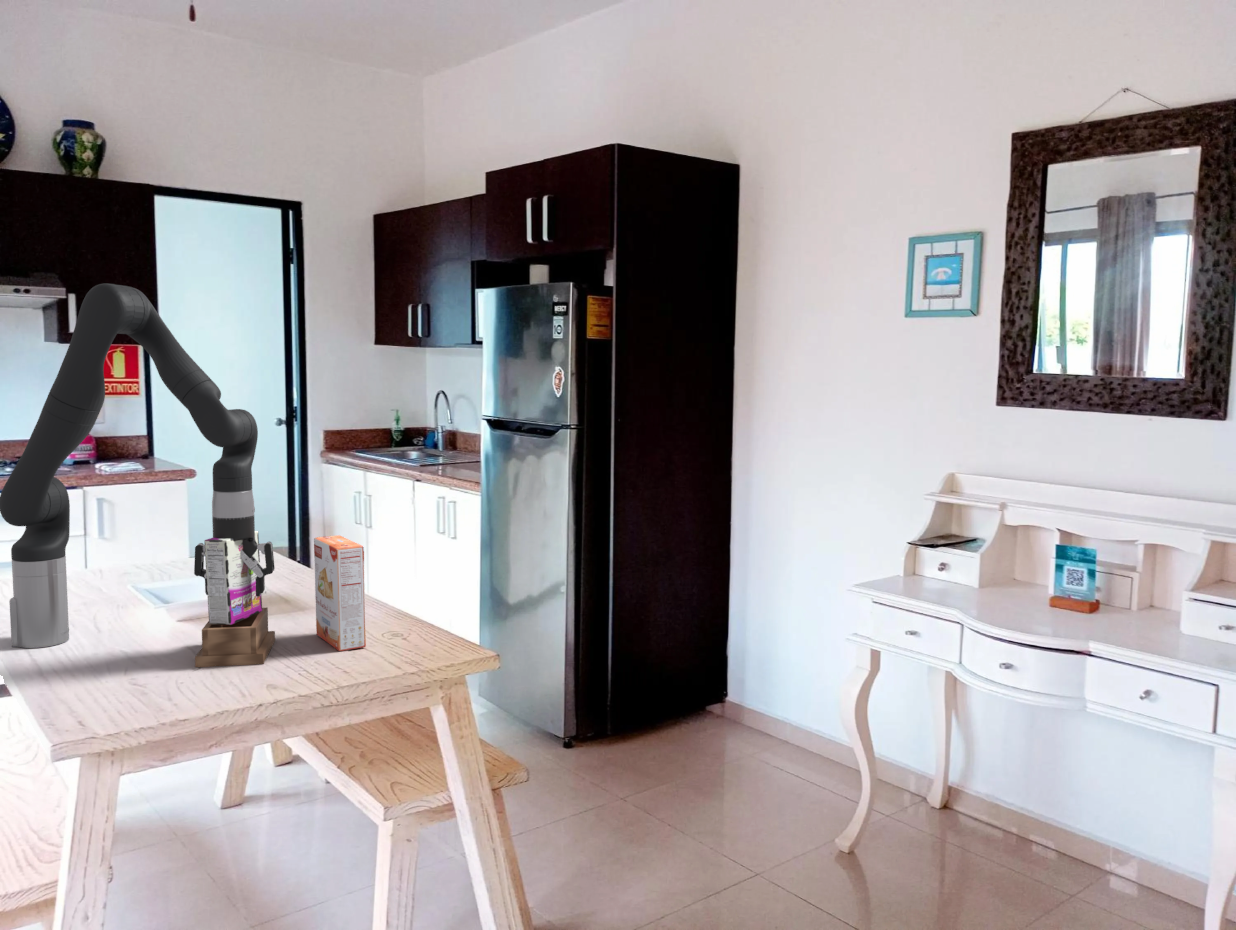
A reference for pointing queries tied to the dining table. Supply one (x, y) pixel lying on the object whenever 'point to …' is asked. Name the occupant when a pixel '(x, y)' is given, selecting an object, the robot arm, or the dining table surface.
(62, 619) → the robot arm
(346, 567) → the cracker box
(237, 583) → the candy bar box
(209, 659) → the walnut stand
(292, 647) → the dining table surface
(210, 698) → the dining table surface
